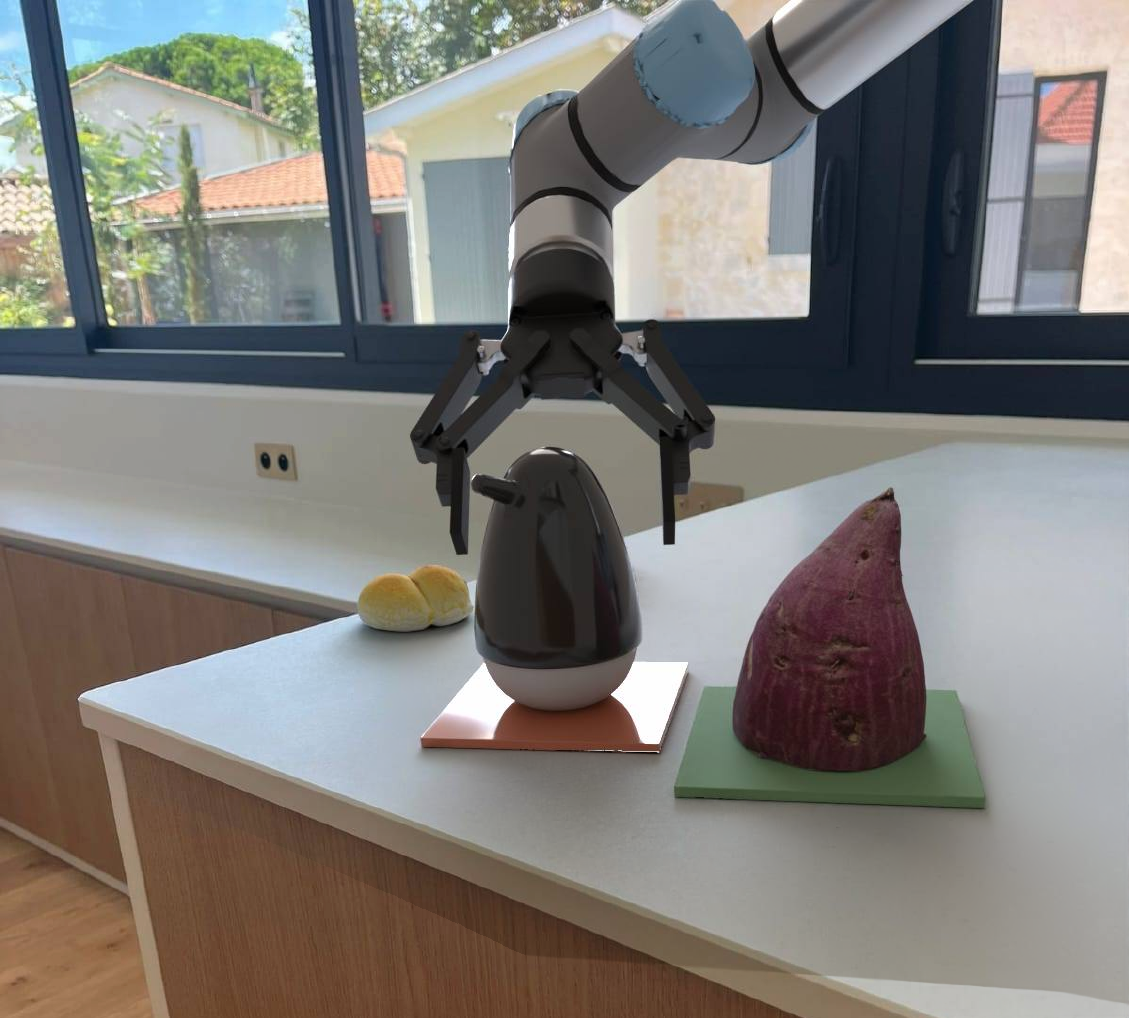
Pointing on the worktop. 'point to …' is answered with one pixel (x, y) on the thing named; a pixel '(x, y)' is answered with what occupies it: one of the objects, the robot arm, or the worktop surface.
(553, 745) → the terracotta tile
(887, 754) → the vegetable
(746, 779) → the green mat
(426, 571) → the bread roll
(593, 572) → the pump dispenser
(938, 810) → the worktop surface
